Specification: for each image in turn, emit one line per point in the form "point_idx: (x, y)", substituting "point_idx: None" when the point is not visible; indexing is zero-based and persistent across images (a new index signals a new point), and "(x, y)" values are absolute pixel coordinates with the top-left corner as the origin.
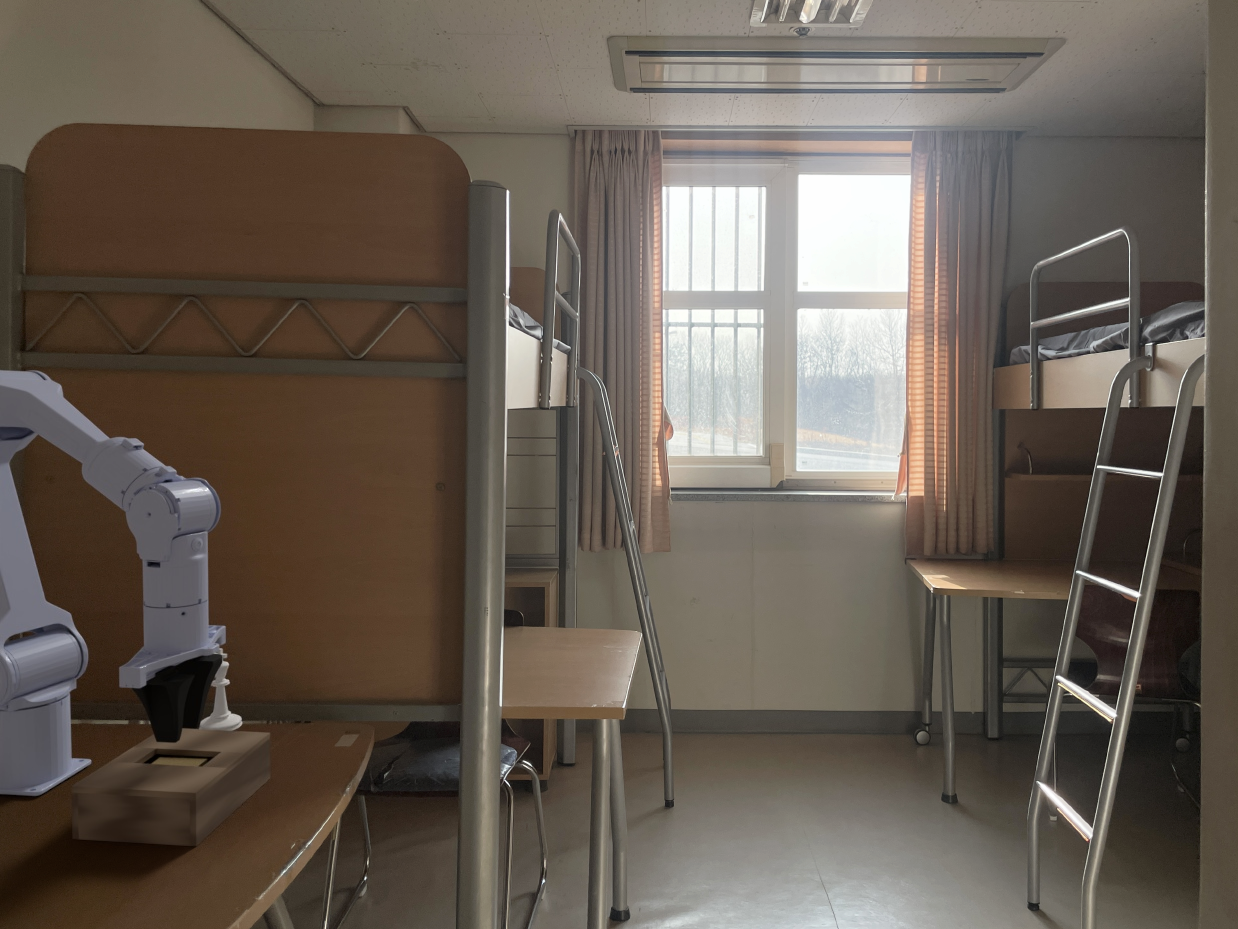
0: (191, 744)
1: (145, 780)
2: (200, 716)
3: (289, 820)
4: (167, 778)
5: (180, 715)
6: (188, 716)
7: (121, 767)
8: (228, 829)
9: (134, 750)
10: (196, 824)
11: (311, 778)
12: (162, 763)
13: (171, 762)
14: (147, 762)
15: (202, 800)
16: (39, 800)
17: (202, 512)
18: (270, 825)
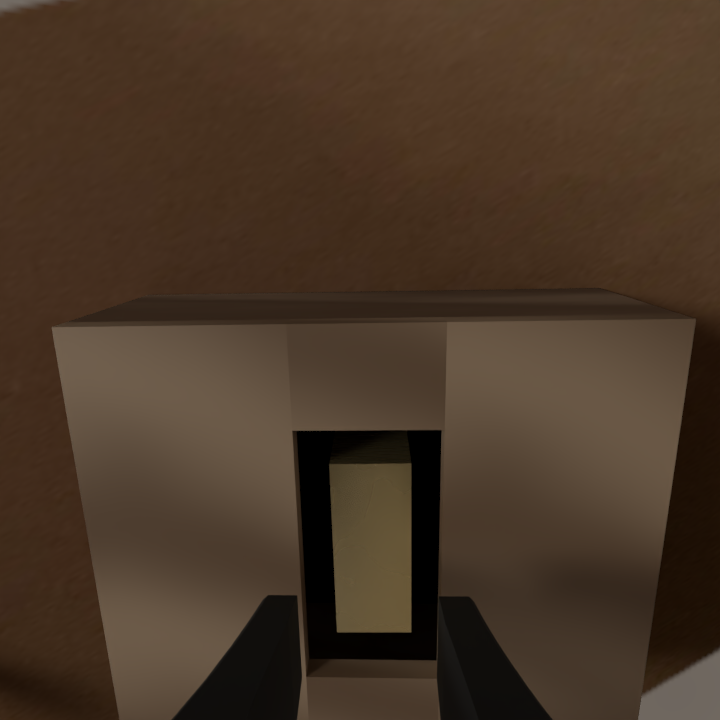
0: (247, 580)
1: (585, 565)
2: (265, 628)
3: (418, 69)
4: (560, 500)
5: (504, 699)
6: (288, 681)
7: None
8: (492, 249)
9: None
10: (629, 298)
11: (112, 147)
12: (387, 597)
13: (373, 573)
14: None
15: (619, 310)
16: None
17: None
18: (457, 121)
